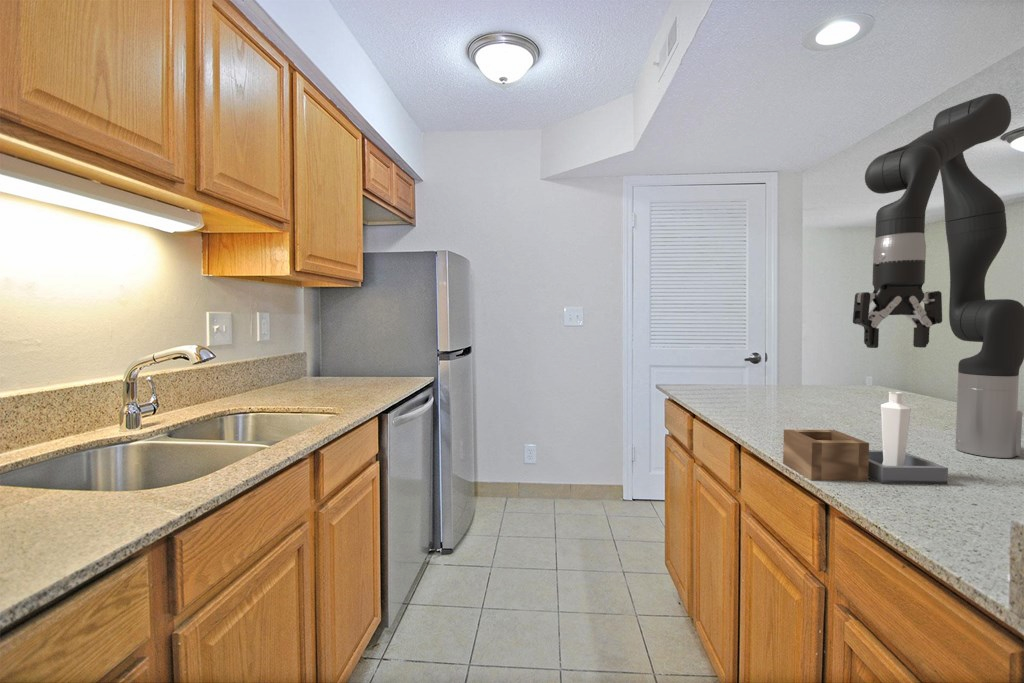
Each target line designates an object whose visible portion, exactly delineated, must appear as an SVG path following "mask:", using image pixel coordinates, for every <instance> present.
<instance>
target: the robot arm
mask: <svg viewBox="0 0 1024 683" xmlns="http://www.w3.org/2000/svg"><path fill="white" fill-rule="evenodd" d="M1011 120H1012V109H1011V106H1010V102H1009V101H1008V99H1007V97H1006V96H1004V95H1003V94H1001V93H994V92H993V93H988V94H985V95H984V94H983V95H981V96H977V97H975V98H972V99H970V100H966V101H964V102H961V103H959V104H955V105H953V106H950V107H948V108H945V109H943V110H941V111H939V112H938V113H937V114H936V115H935V117H934V120H933V125H932V130H931V129H930V130H928V131H927V132H925V133H923V134H922V135H920V136H918V137H917V138H915V139H914V140H912V141H910V142H909V143H907V144H906V145H903V146H900V147H897V148H895V149H892V150H890V151H887V152H886V153H883V154H880V155H879V156H877V157H876V158H874V159H873V160H872V161H871V162H870V164H868V166H867V168H866V171H865V173H864V182H865V185H866V187H867V188H868V189H869V190H870V191H871V192H873V193H876V194H881V195H882V194H883V195H885V194H890V193H894V192H896V193H897V192H899V191H904V193H903V194H902V196H901V197H900V198H898V199H897V200H895V201H893V202H890V203H888V204H886V205H883V206H882V207H879V209H878V210H877V212H876V216H875V238H874V239H875V240H874V245H873V250H872V252H873V253H872V257H873V258H872V286H873V291H872V293H871V292H869V291H866V292H863V291H862V292H855V295H854V303H853V315H852V323H853V324H854V325H859V326H860V327H863V332H864V334H863V336H864V337H863V343H864V345H865V346H866V347H867V348H869V349H878V348H879V337H880V336H879V335H880V334H879V332H880V328H878V326H879V325H880V324H881V322H882V321H883V320H884V319H887V317H888V316H905V317H906V319H909V320H910V321H911V322H912V324H913V325H914V326H915V327H913V341H912V342H913V344H912V345H913V347H914V348H922V349H923V348H926V347H927V345H929V343H930V328H931V326H933V325H936V324H941V323H942V322H943V298H942V297H943V296H942V294H943V293H942V292H941V291H939V290H937V291H935V290H933V291H925V292H924V291H923V286H924V284H925V282H926V279H925V278H926V257H927V252H926V251H927V245H926V239H925V238H926V237H925V232H926V231H925V225H926V212H927V211H926V210H927V208H928V207H927V206H928V203H929V200H930V197H931V194H932V192H933V189H934V186H935V184H936V182H937V179H938V176H939V173H940V176H941V177H940V178H941V184H942V193H943V194H942V195H943V207H944V225H945V235H946V243H947V250H948V251H947V252H948V262H949V265H948V266H949V284H950V285H949V303H948V304H949V306H948V307H949V308H948V321H949V326H950V330H951V332H952V333H953V334H954V335H953V336H954V337H956V339H959V340H961V341H964V342H973V343H982V345H981V348H980V351H979V352H978V353H977V354H974V355H973V356H970V357H965V358H962V359H960V360H959V362H958V365H957V366H958V367H957V394H956V395H957V396H956V397H957V398H956V415H955V416H956V418H955V419H956V420H955V423H956V424H955V445H954V446H955V449H956V450H957V451H960V452H963V453H966V454H971V455H976V456H982V457H989V458H998V459H999V458H1000V459H1001V458H1003V459H1011V458H1015V457H1020V456H1021V450H1022V429H1023V428H1022V427H1023V412H1022V411H1021V410H1018V404H1019V403H1018V402H1019V381H1020V380H1019V379H1020V378H1019V376H1020V369H1021V366H1022V364H1023V362H1024V305H1023V304H1022V303H1021V302H1019V301H1018V300H1015V299H1009V298H1006V299H1005V298H1002V299H1001V298H999V299H998V298H997V299H996V298H995V299H986V292H985V291H986V289H985V285H986V284H985V282H986V276H987V273H988V271H989V269H990V266H991V265H992V264H993V262H994V260H995V259H996V257H997V255H998V254H999V252H1000V250H1001V249H1002V248H1003V247H1002V246H1003V245H1004V243H1005V240H1006V238H1007V235H1008V232H1007V231H1008V229H1007V228H1008V227H1007V216H1006V206H1005V203H1004V201H1003V199H1002V198H1001V197H1000V196H999V195H998V194H997V193H996V192H995V191H994V190H992V189H991V188H990V187H989V186H988V185H986V184H985V183H984V182H983V181H981V180H980V179H979V178H978V177H977V176H976V175H975V174H974V173H973V172H972V171H971V170H970V168H969V166H968V164H967V162H966V158H965V156H964V152H966V151H967V150H969V149H971V148H973V147H974V146H976V145H979V144H982V143H987V142H989V141H992V140H995V139H997V138H998V137H1000V136H1002V135H1003V134H1005V132H1006V131H1007V130H1008V128H1009V126H1010V125H1011ZM871 303H873V304H874V306H873V307H872V308H871V310H870V304H871ZM921 303H923V304H924V305H923V306H922V305H921ZM923 307H924V308H923Z"/></svg>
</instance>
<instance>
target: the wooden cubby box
mask: <svg viewBox="0 0 1024 683" xmlns="http://www.w3.org/2000/svg"><path fill="white" fill-rule="evenodd" d="M782 443H783V448H782V449H783V451H782V463H783V465H785V466H787V467H789V468H790V469H792V470H794V471H795V472H796V473H799V474H800V475H802V476H804V477H805V478H806V479H808V480H810V481H837V482H838V481H843V482H845V481H847V482H853V481H854V482H855V481H856V482H858V481H859V482H869V477H868V466H869V450H870V442H867V441H866V440H863V439H860V438H857V437H855V436H852V435H849V434H847V433H843V432H841V431H840V430H839V431H838V430H836V429H783V442H782Z"/></svg>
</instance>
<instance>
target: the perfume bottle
mask: <svg viewBox="0 0 1024 683" xmlns="http://www.w3.org/2000/svg"><path fill="white" fill-rule="evenodd" d="M902 394H904V393H903V392H901V391H888V402H885V403H882V404H880V417H881V419H880V420H881V438H882V441H881V442H882V450H883V463H882V465H884V466H904V460H905V452H906V453H907V443H908V434H909V429H910V428H909V427H910V421H911V415H912V414H911V412H912V407H910V406H908V405H906V404H904V403H903V402H902V399H903V398H902V396H903V395H902Z"/></svg>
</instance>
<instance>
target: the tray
mask: <svg viewBox="0 0 1024 683" xmlns="http://www.w3.org/2000/svg"><path fill="white" fill-rule="evenodd" d="M882 463H883V449H882V450H879V449H877V450H875V449H874V450H873V449H869V466H868V479H869V478H870V479H872V480H873V481H876V482H878V483H880V484H883V485H934V484H938V485H939V486H941V485H942V486H944V485H948V480H949V478H948V477H949V468H948V467H946V466H944V465H940V464H938V463H935V462H933V461H930V460H927V459H925V458H922V457H919V456H917V455H913V454H912V453H910V452H909V453H908V452H907V451H906V452H905V460H904V466H884V465H882Z"/></svg>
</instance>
